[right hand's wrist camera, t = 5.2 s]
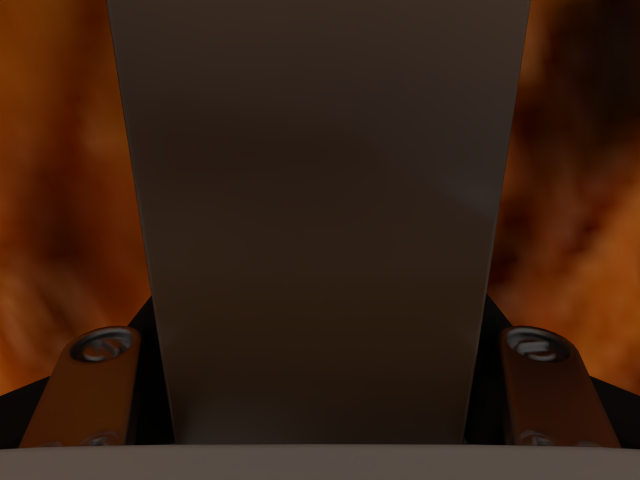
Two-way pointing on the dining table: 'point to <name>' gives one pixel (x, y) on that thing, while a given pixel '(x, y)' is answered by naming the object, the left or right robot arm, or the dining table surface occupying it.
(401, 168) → the bar
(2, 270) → the dining table surface
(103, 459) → the right robot arm
